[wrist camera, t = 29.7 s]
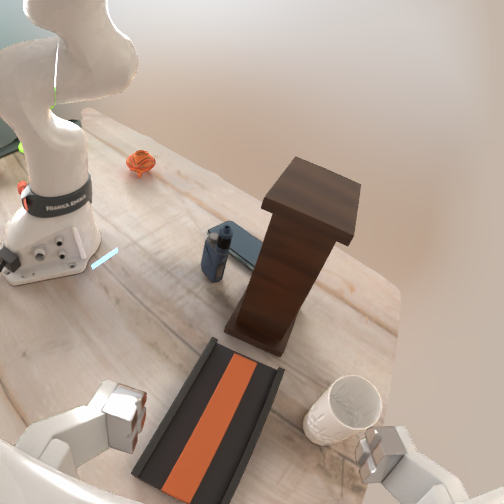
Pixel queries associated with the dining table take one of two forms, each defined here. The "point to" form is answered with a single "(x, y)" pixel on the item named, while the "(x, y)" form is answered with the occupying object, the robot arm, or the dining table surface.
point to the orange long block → (209, 430)
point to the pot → (140, 162)
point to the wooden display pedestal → (293, 250)
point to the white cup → (343, 411)
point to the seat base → (188, 415)
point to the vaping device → (216, 253)
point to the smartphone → (241, 244)
